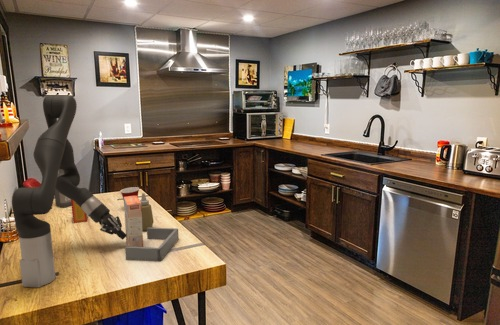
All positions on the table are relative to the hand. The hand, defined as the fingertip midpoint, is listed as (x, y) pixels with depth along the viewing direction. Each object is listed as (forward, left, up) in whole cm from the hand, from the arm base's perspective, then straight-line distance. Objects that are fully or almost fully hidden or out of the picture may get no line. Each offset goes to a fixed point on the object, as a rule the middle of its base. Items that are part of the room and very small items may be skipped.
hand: (124, 237), depth 146 cm
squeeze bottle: (+22, 0, -5) cm, 22 cm away
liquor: (+56, +65, -5) cm, 86 cm away
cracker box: (+1, -4, -4) cm, 6 cm away
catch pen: (0, -13, -4) cm, 13 cm away
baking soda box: (+32, +40, -5) cm, 52 cm away
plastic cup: (+53, +22, -5) cm, 58 cm away
